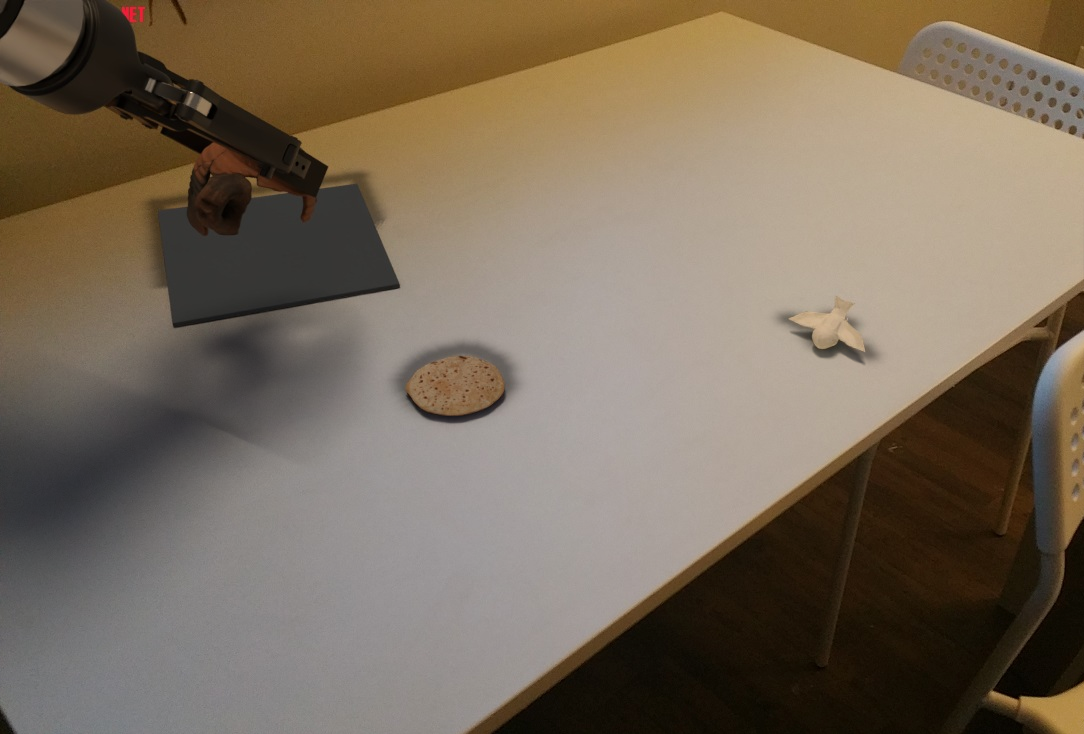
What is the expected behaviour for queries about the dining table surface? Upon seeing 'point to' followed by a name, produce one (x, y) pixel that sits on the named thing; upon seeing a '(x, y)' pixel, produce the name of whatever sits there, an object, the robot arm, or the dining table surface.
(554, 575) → the dining table surface
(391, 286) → the placemat
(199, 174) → the broken brown clay pot
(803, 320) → the white bird figurine
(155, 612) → the dining table surface
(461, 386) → the flatbread
